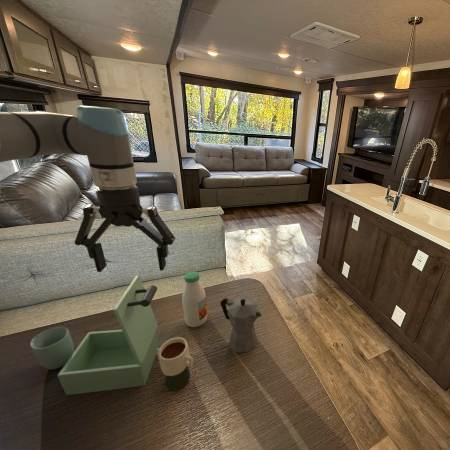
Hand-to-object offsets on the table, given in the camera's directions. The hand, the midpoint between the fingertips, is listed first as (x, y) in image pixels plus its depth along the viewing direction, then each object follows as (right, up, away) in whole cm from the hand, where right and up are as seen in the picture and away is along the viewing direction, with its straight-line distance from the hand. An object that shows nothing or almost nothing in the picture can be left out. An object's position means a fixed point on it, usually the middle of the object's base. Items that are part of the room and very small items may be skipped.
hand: (133, 268), depth 62 cm
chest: (-12, -31, +11) cm, 35 cm away
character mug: (+7, -34, +9) cm, 36 cm away
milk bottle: (+3, -25, +30) cm, 39 cm away
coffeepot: (+21, -29, +23) cm, 43 cm away
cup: (-29, -30, +11) cm, 43 cm away
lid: (-3, -15, +5) cm, 16 cm away
